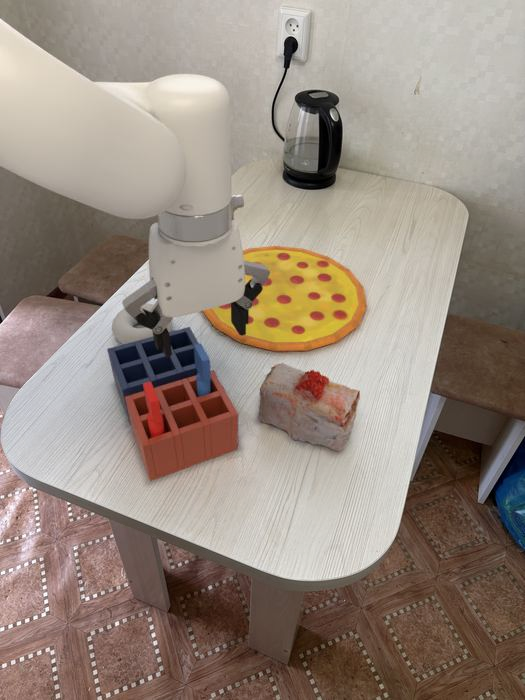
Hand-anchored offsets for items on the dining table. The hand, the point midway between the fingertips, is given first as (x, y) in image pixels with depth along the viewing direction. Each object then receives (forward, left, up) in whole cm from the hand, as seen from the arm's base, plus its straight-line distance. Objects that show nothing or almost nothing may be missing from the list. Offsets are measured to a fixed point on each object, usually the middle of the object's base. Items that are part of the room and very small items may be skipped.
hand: (202, 338), depth 63 cm
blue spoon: (0, 0, -16) cm, 16 cm away
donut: (-3, +22, -17) cm, 28 cm away
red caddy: (-4, -2, -16) cm, 17 cm away
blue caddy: (-4, +8, -16) cm, 19 cm away
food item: (+13, -7, -17) cm, 22 cm away
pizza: (+24, +22, -17) cm, 37 cm away
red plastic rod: (-8, -4, -16) cm, 18 cm away
